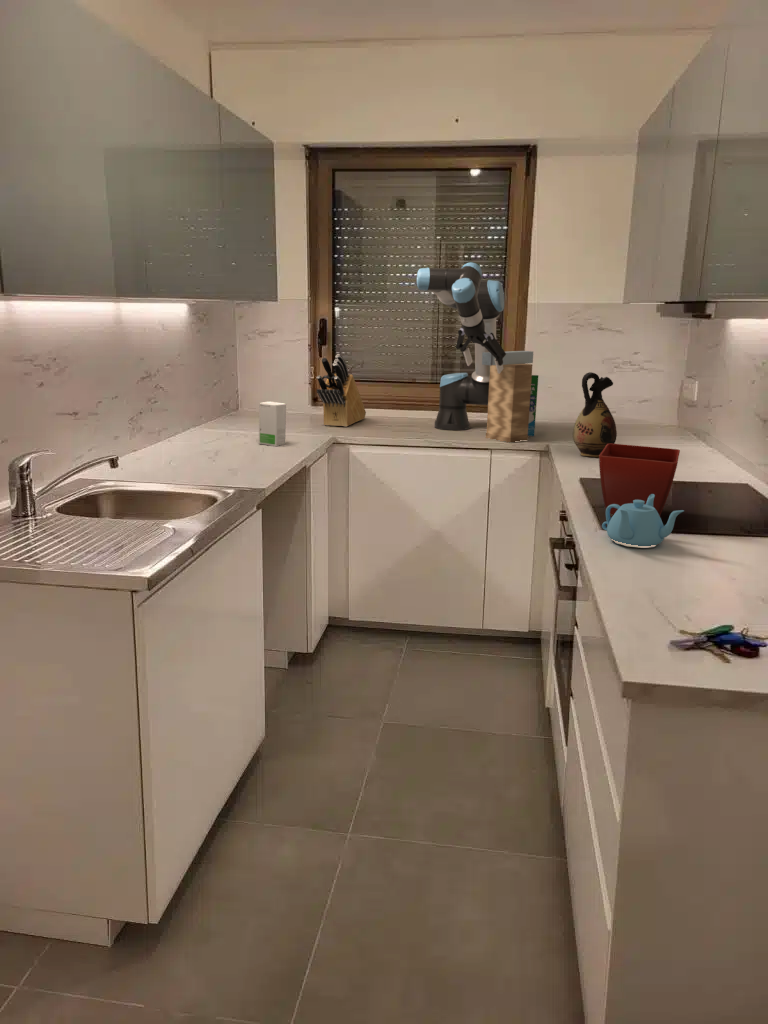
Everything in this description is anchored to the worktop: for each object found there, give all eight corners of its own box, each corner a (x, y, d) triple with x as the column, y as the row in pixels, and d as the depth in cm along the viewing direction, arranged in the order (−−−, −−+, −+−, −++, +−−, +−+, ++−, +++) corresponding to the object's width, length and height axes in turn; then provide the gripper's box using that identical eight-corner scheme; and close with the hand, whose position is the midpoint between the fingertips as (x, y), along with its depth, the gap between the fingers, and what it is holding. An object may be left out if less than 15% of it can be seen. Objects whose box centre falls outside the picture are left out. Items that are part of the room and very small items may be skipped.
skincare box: (258, 444, 301) (257, 402, 297) (268, 441, 306) (268, 400, 302) (276, 446, 297) (276, 404, 293) (287, 443, 303) (286, 402, 299)
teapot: (594, 533, 196) (597, 493, 193) (652, 532, 198) (657, 492, 195) (617, 552, 182) (621, 509, 179) (680, 551, 184) (685, 508, 181)
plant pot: (669, 527, 203) (677, 462, 198) (592, 518, 209) (598, 455, 205) (673, 509, 220) (680, 449, 215) (601, 501, 227) (607, 443, 222)
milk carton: (532, 432, 339) (536, 372, 332) (534, 436, 330) (538, 375, 324) (510, 431, 340) (514, 372, 333) (512, 435, 331) (515, 374, 324)
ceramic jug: (597, 450, 302) (604, 370, 294) (623, 458, 289) (631, 374, 281) (559, 452, 296) (565, 370, 288) (583, 460, 283) (590, 375, 275)
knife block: (314, 429, 336) (314, 354, 328) (343, 417, 369) (343, 349, 361) (339, 431, 333) (339, 355, 325) (366, 419, 366) (367, 350, 357)
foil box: (481, 364, 307) (482, 352, 306) (524, 362, 322) (524, 350, 321) (490, 365, 304) (491, 353, 303) (532, 363, 318) (533, 351, 317)
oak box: (485, 437, 324) (489, 362, 316) (503, 435, 330) (507, 361, 322) (510, 443, 314) (515, 365, 306) (528, 440, 320) (533, 364, 312)
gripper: (437, 321, 283) (452, 367, 298) (496, 333, 269) (508, 381, 284) (449, 308, 286) (463, 354, 301) (508, 319, 271) (519, 367, 287)
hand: (485, 367), depth 293 cm, fingers open, 13 cm apart
